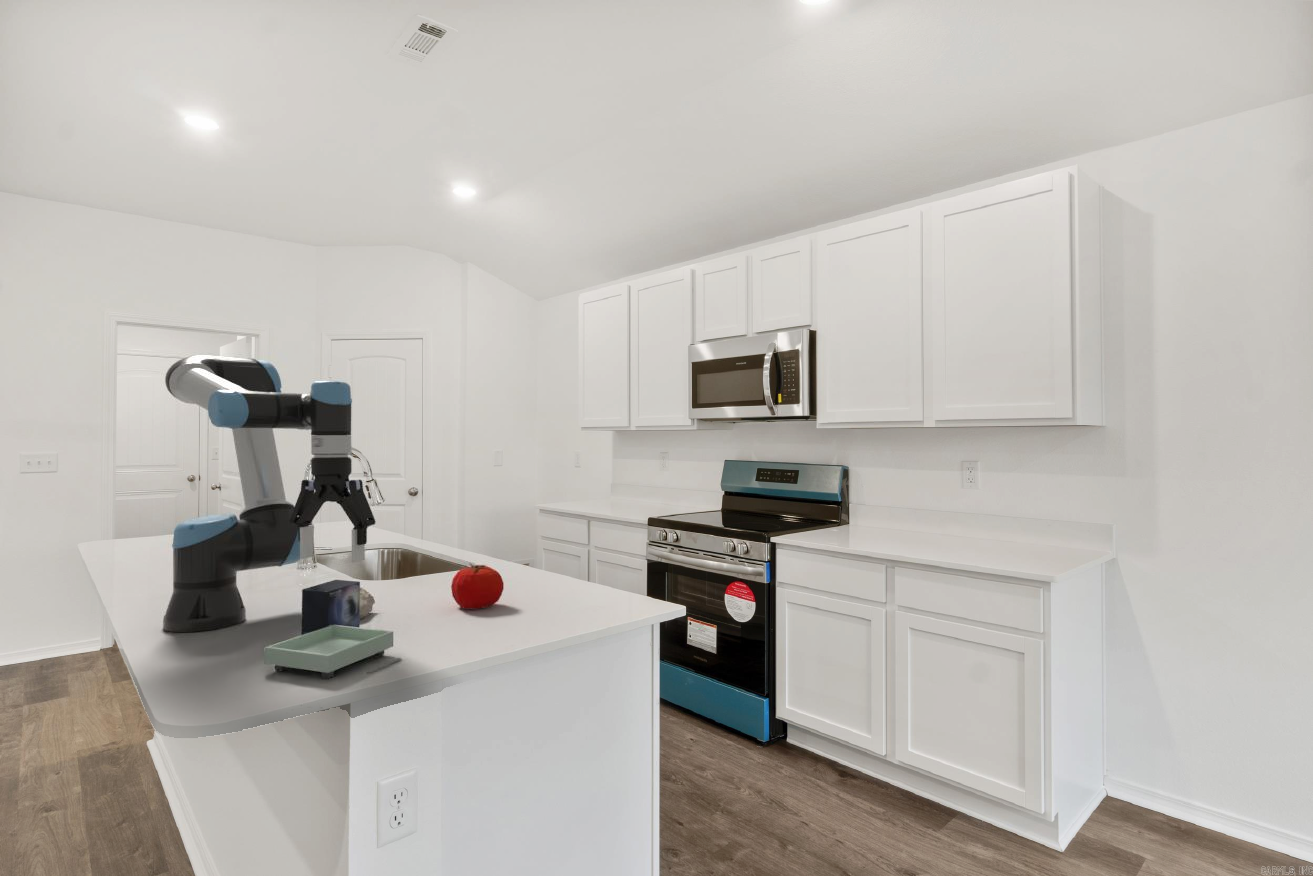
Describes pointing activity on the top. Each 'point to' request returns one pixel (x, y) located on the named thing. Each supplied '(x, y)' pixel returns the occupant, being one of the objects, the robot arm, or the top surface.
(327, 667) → the green footed tray
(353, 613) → the small box
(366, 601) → the stone
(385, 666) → the strip
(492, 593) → the tomato
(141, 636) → the top surface
